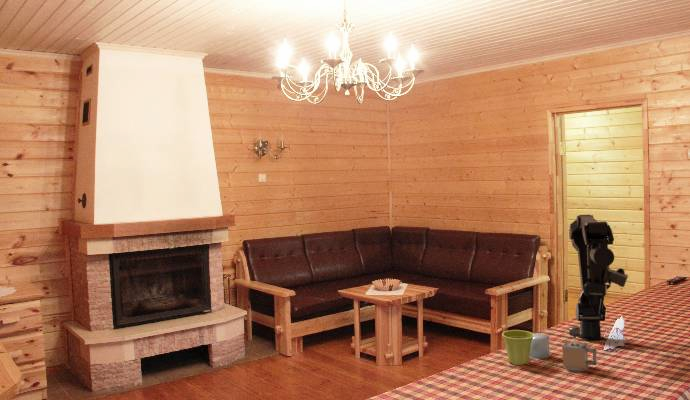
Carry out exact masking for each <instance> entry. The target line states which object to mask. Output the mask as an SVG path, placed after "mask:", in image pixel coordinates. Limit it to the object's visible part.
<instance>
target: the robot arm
mask: <svg viewBox="0 0 690 400" xmlns="http://www.w3.org/2000/svg"><path fill="white" fill-rule="evenodd" d="M568 236H569V238H568V239H569V240H571V246H572V247H573V248H574V249H575V251H576V252H577V259H578V269H579V277H580V287H581V294H580V296H579V297H578V299H577V303H576V307H575V311H574V312H575V318H576V320H577V322H580V323H579V324H580V327H579V328H580V336H577V337H578V338H580V339H583V340H586V341H596V340H603V339H605V336H602V330H601V322H605V321H606V311H607V307H606V306H605V303H604V302H605V297H606V295H607V290H609V289H610V288H611V285H612V284H615V285H618V286H619V287H621V288H624V287H625V285H626V283H627V280H628V278H629V275H628V273H627V274H626V272H625V269H624V268H620V267H619V268H618V269H616V270H615V269H611V268H610V266H611V265H612V264H613V263H614V261H615V254H614V252H613V251H612V250H611V249H610V248H609V246H608V245H614V240H615V238H614V234H613V229H612V228H611V225H610V224H608V222H607V221H605V220H604V221H603V220H602V221H601V220H600V221H598V220H596V219H595V218H594V215H591V214H579V215H576V219H575V220H573V222H571V223H570V225H569V229H568Z"/></svg>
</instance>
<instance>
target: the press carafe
mask: <svg viewBox="0 0 690 400" xmlns="http://www.w3.org/2000/svg"><path fill="white" fill-rule="evenodd" d="M576 343H577V346H574V341H569V340H567V341H564V343H563V345H562V347H561V349H562V366H563V369H564V370H565V371H568V372H572V373H574V372H575V373H580V372H581V373H582V372H587V371H589V366H597V365H598V363H597V348H596V347H595V348H594V347H588V346H589V343H588V342H579V341H576ZM589 353H592V360H589Z"/></svg>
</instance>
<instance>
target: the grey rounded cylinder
mask: <svg viewBox="0 0 690 400" xmlns="http://www.w3.org/2000/svg"><path fill="white" fill-rule="evenodd" d="M533 334H534V337H533V339H532V342H531V350H530V357H531V358H533V359H538V360H542V359H543V360H544V359H549V357H550V353H551V352H550V336H549V335H548V334H546V333H533Z"/></svg>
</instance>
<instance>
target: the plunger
mask: <svg viewBox="0 0 690 400" xmlns="http://www.w3.org/2000/svg"><path fill="white" fill-rule="evenodd" d="M568 332H569V333H568V335H569V336H571V337H572V338H573V341H572V342H574V346H577V343H576V342H577V337H578V336H580V334H581V329H580V327H579V326H569V327H568Z"/></svg>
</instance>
